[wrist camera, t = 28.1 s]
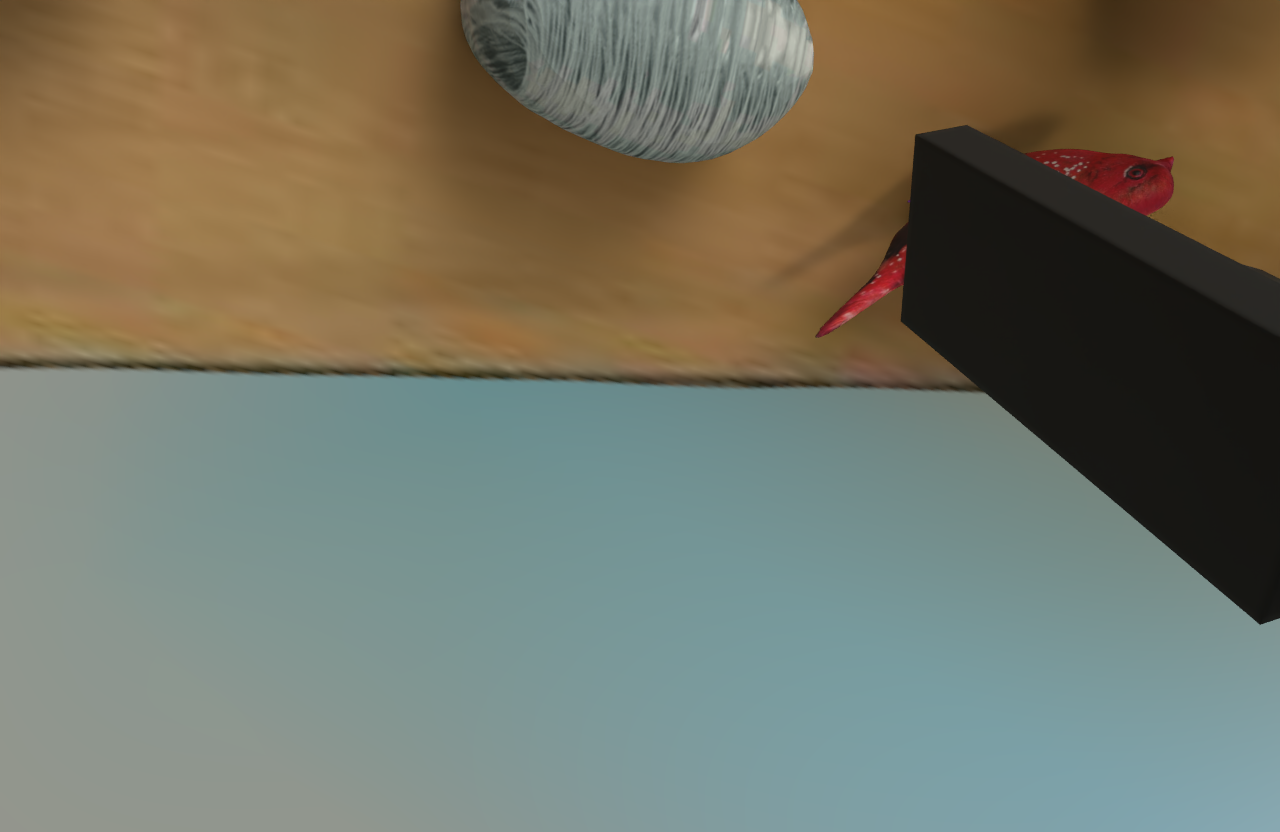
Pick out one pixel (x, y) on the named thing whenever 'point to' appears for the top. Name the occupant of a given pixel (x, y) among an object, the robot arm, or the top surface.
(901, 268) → the decorative bird figurine
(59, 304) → the top surface
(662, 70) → the spool
